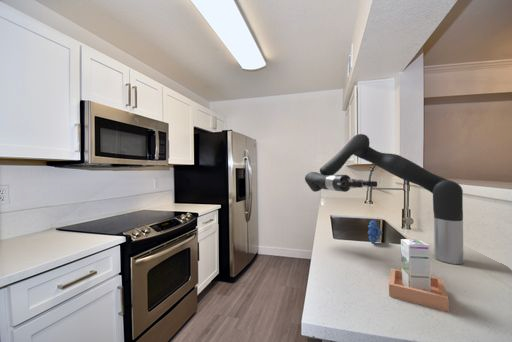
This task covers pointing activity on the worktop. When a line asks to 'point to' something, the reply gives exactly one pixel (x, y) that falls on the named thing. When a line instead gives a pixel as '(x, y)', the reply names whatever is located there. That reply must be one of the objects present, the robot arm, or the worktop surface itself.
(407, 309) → the worktop surface
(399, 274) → the dish
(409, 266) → the syrup box
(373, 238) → the grapes
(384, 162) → the robot arm
